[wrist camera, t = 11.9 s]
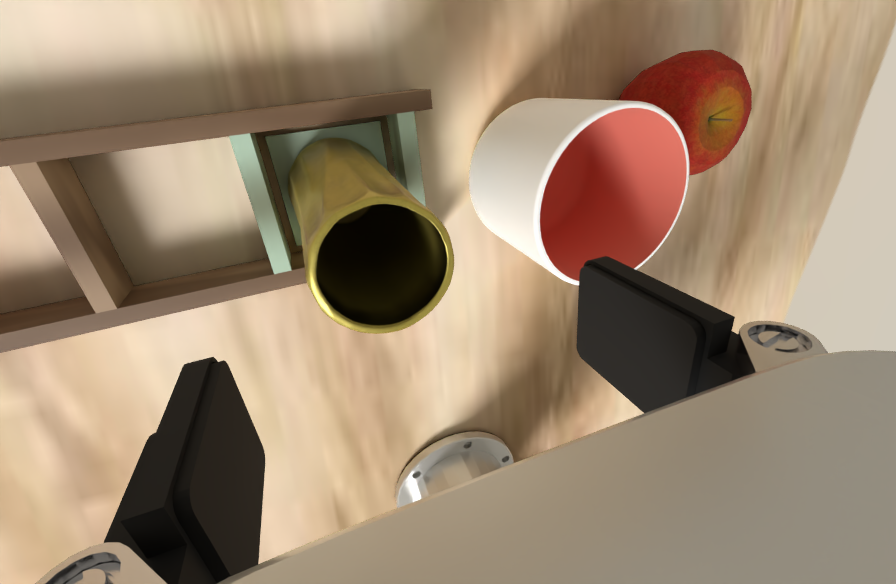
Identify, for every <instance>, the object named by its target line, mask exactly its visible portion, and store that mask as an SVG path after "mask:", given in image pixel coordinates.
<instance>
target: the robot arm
mask: <svg viewBox="0 0 896 584" xmlns="http://www.w3.org/2000/svg"><path fill="white" fill-rule="evenodd" d="M734 318H735V317H734V316H731V315H729V314H727V313H725V312H723V311H721V310H719V309H717V308H715V307H713V306H711V305H709V304H706V303H704V302H702V301H700V300H698V299H696V298H694V297H692V296H690V295H688V294H686V293H683V292H681V291H679V290H677V289H675V288H673V287H671V286H669V285H667V284H665V283H663V282H661V281H658V280H656V279H654V278H652V277H650V276H648V275H646V274H644V273H642V272H640V271H638V270H635V269H633V268H631V267H629V266H627V265H625V264H623V263H621V262H619V261H617V260H615V259H613V258H610V257H608V256H604V257H600V258H596V259H592V260H588V261H586V262H585V264H584V267H582V268H581V270H580V275H579V300H578V325H577V351H578V353H579V355H580V357H581V358H582V359H583V360H584V361H585V362H586V363H587V364H589V365H590V366H591V367H592V368H593V369H594V370H596V371H597V372H598V373H599V374H600V375H601V376H602V377H604V378H605V379H606V380H607V381H608V382H609V383H610V384H612V385H613V386H614V387H615V388H616V389H617V390H618V391H620V392H621V393H622V394H623V395H624V396H625V397H626V398H628V399H629V400H630V401H631V402H632V403H633V404H634V405H636V406H637V407H638V408H639V409H640V410H641V411H643V412H644V414H642V415H639V416H636V417H634V418H631V419H628V420H626V421H623V422H620V423H618V424H615V425H612V426H610V427H607V428H604V429H602V430H599V431H596V432H594V433H591V434H589V435H586V436H583V437H581V438H578V439H575V440H573V441H570V442H568V443H565V444H562V445H560V446H557V447H554V448H552V449H549V450H547V451H544V452H541V453H539V454H536V455H534V456H531V457H528V458H526V459H523V460H520V461H518V462H515V463H514V461H513V456H512V454H511V452H510V450H509V449H508V447H507V446H506V444H505V443H504V442H503V441H502V440H501V439H500V438H498V437H497V436H495V435H492V434H490V433H485V432H479V431H477V432H464V433H458V434H454V435H451V436H448V437H445V438H443V439H441V440H439V441H437V442H435V443H433V444H432V445H430V446H429V447H427V448H426V449H424V450H423V451H422V452H420V453H419V454H418V455H417V456H416V457H415V458H414V459H413V460H412V461H411V462H410V463H409V464H408V466H407V467H406V468H405V469H404V471H403V473H402V474H401V476H400V478H399V481H398V483H397V486H396V492H395V499H396V505H397V508H396V509H394V510H391V511H389V512H386V513H384V514H381V515H378V516H376V517H373V518H371V519H368V520H366V521H363V522H361V523H358V524H356V525H353V526H350V527H348V528H345V529H343V530H340V531H338V532H335V533H333V534H330V535H328V536H325V537H323V538H320V539H318V540H315V541H313V542H310V543H308V544H305V545H303V546H301V547H298V548H296V549H293V550H291V551H289V552H286V553H284V554H282V555H279V556H277V557H275V558H272V559H270V560H268V561H265V562H263V563H261V564H258V560H259V545H260V530H261V516H262V501H263V487H264V472H265V454H264V449H263V446H262V443H261V441H260V439H259V436H258V434H257V432H256V429H255V427H254V425H253V422H252V420H251V418H250V415H249V413H248V411H247V408H246V406H245V403H244V401H243V399H242V396H241V394H240V392H239V389H238V387H237V385H236V382H235V380H234V378H233V375H232V373H231V371H230V368H229V366H228V364H227V363H226V361H220V362H217V360H216V359H215V358H214V357H211V358H207V359H203V360H199V361H195V362H191V363H187V364H184V366H183V368H182V370H181V373H180V375H179V378H178V380H177V383H176V385H175V387H174V390H173V392H172V395H171V397H170V400H169V402H168V405H167V407H166V410H165V412H164V415H163V417H162V419H161V422H160V424H159V427H158V429H157V432H156V433H154V434H152V435H151V436H150V437H149V438H148V440H147V442H146V444H145V446H144V449H143V451H142V453H141V456H140V458H139V460H138V463H137V465H136V468H135V470H134V472H133V475H132V477H131V479H130V482H129V484H128V486H127V489H126V491H125V493H124V496H123V498H122V501H121V503H120V505H119V508H118V510H117V512H116V515H115V517H114V519H113V522H112V524H111V526H110V529H109V531H108V534H107V536H106V538H105V541H104V543H102V544H99V545H95V546H92V547H89V548H87V549H85V550H83V551H80V552H78V553H76V554H74V555H72V556H70V557H69V558H68V559H66V560H65V561H63V562H62V563H60V564H59V565H57V566H56V567H54V568H53V569H51V570H50V571H49V572H48V573H47V574H46V575H45V576H43V577H42V578H41V579H40V580H39V581H38V582H37V583H35V584H896V352H893V351H874V350H871V351H843V352H835V353H828V352H827V351H826V349H825V348H824V347H823V345H822V344H821V342H820V341H819V340H818V339H817V338H816V337H815V336H814V335H812V334H810V333H809V332H807V331H805V330H803V329H800V328H798V327H795V326H792V325H788V324H784V323H780V322H773V321H755V322H749V323H747V324H744V325H743V326H742V327H741V328H740V330H739V334H736V333H734V332H732V331H731V330H732V326H733V322H734Z"/></svg>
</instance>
